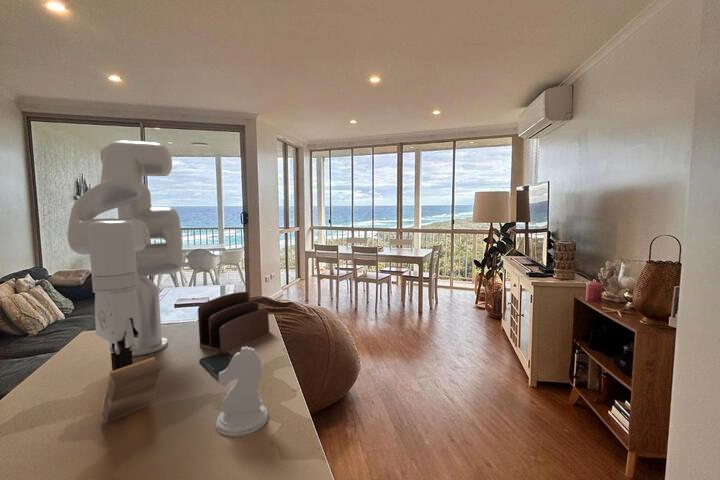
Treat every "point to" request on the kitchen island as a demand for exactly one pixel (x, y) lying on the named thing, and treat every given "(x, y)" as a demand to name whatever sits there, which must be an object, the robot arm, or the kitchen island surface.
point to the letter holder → (230, 322)
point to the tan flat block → (129, 389)
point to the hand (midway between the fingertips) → (122, 369)
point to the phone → (216, 363)
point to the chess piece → (242, 395)
